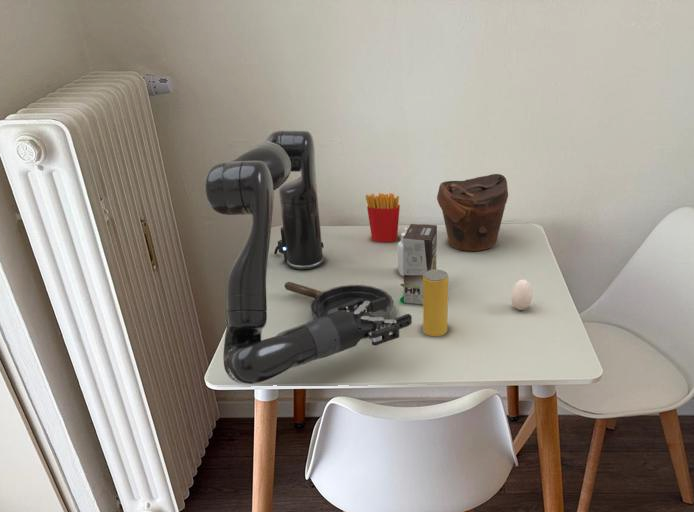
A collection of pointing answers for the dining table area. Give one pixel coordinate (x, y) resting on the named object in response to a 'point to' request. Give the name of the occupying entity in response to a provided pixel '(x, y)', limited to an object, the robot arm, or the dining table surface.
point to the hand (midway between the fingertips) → (398, 310)
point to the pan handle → (302, 290)
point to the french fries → (383, 217)
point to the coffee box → (418, 259)
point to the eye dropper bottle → (401, 253)
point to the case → (473, 210)
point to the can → (435, 302)
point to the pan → (346, 294)
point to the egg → (521, 294)
